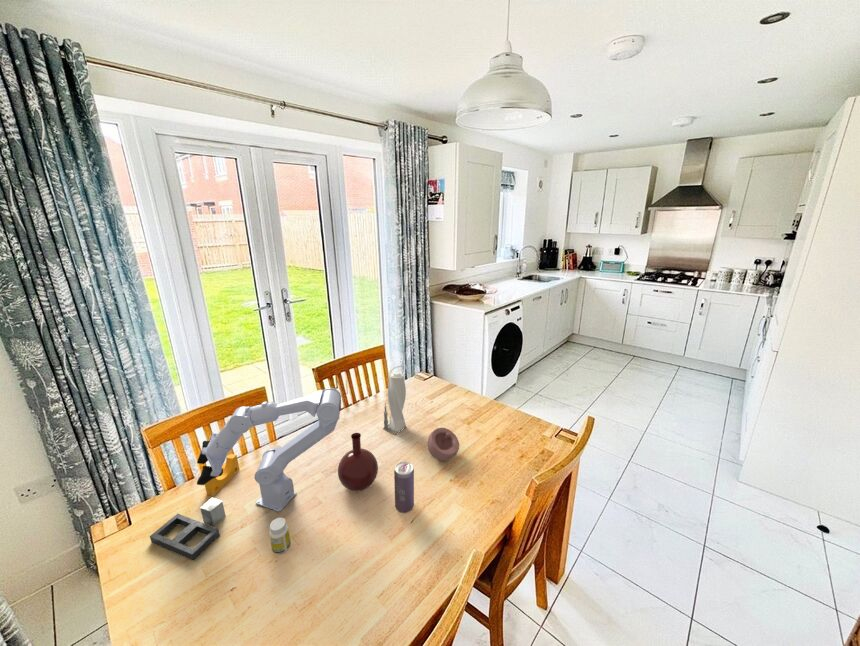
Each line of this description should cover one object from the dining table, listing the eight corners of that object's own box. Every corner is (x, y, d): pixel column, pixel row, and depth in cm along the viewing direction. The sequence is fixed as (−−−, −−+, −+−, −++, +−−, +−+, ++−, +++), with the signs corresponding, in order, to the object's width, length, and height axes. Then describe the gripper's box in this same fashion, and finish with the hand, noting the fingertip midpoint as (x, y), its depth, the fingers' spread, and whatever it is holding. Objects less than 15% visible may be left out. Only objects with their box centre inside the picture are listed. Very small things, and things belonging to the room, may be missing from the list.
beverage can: (416, 501, 111) (416, 463, 106) (409, 516, 106) (409, 477, 101) (399, 496, 113) (399, 459, 108) (391, 511, 108) (390, 472, 103)
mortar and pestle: (446, 473, 123) (447, 446, 120) (420, 458, 130) (421, 433, 126) (464, 455, 132) (465, 430, 129) (439, 442, 139) (440, 418, 136)
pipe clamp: (228, 467, 124) (225, 453, 122) (239, 469, 124) (236, 454, 122) (202, 493, 113) (198, 477, 111) (213, 495, 112) (210, 479, 110)
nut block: (225, 516, 105) (222, 500, 103) (214, 527, 101) (210, 511, 99) (215, 512, 106) (212, 497, 104) (203, 523, 102) (199, 507, 101)
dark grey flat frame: (220, 535, 99) (218, 529, 98) (193, 561, 92) (192, 554, 91) (179, 519, 103) (177, 513, 103) (151, 542, 96) (149, 536, 96)
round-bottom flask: (359, 465, 126) (356, 419, 120) (386, 481, 119) (384, 433, 113) (331, 488, 116) (326, 438, 110) (358, 507, 109) (354, 455, 102)
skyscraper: (396, 419, 154) (395, 362, 145) (410, 426, 149) (409, 368, 140) (383, 429, 147) (381, 369, 138) (397, 436, 143) (396, 375, 134)
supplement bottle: (285, 535, 99) (281, 513, 96) (294, 545, 96) (290, 522, 93) (269, 547, 95) (264, 524, 93) (277, 558, 93) (273, 534, 90)
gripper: (210, 420, 105) (186, 452, 107) (211, 459, 94) (185, 493, 96) (233, 425, 110) (210, 455, 112) (237, 461, 99) (211, 494, 101)
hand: (200, 473), depth 104 cm, fingers open, 7 cm apart
